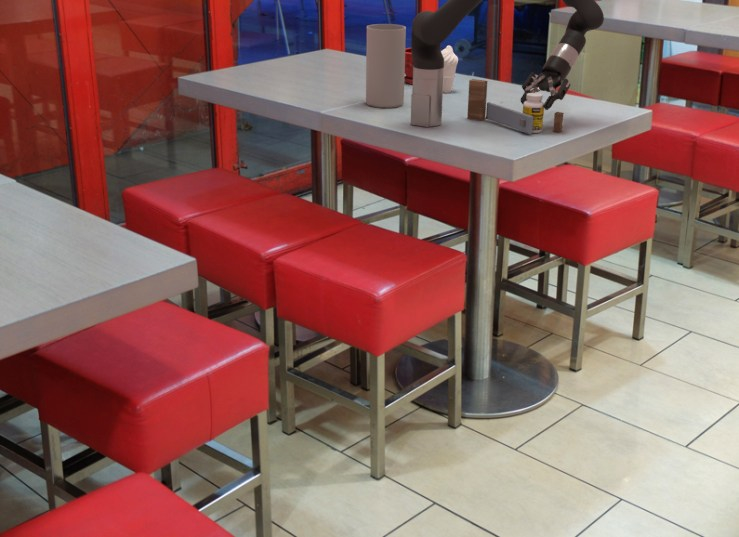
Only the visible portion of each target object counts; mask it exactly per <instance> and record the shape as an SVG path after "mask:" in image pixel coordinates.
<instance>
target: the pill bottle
mask: <svg viewBox="0 0 739 537" xmlns="http://www.w3.org/2000/svg"><path fill="white" fill-rule="evenodd" d="M526 99H527V101H525V102H524V104H522V113H524V114H527V115H530V116H533V129H532V133H531V134H538V133H539V134H540V133H542V132H543V123H544V115H545V113H544V112H545V108H544V107H543V105H544V103H545V102H543V101H542V100H543V94H542V93H539V92H535V93H528V94H527V96H526Z"/></svg>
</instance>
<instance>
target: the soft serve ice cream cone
mask: <svg viewBox="0 0 739 537" xmlns="http://www.w3.org/2000/svg"><path fill="white" fill-rule="evenodd" d="M441 53H442V55H443V58H444V77H443V94H445V93H446V94H449V93H451V92H452V89H453V86H454V83H455V82H454V81H455V78H456V70H457V65H458V63H459V57H458V56H457V55H456V54H455V53H454V49H453V46H451V45H447V46H446V47H445V48H444V49H441Z"/></svg>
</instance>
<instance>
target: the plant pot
mask: <svg viewBox="0 0 739 537" xmlns="http://www.w3.org/2000/svg"><path fill="white" fill-rule="evenodd" d="M404 82H406V83H407V84H410V85H413V58H412V53H411V47H408V48H407V47H405V77H404Z"/></svg>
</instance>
